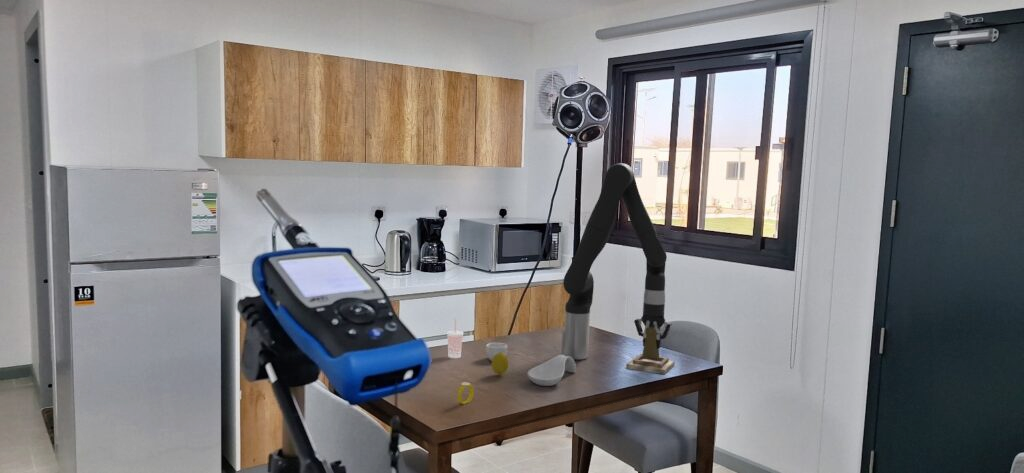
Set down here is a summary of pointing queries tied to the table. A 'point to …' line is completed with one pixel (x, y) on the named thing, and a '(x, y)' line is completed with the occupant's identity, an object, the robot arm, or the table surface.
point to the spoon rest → (552, 370)
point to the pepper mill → (650, 343)
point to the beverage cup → (454, 343)
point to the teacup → (495, 349)
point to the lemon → (500, 363)
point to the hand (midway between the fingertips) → (651, 348)
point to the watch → (463, 385)
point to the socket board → (651, 364)
